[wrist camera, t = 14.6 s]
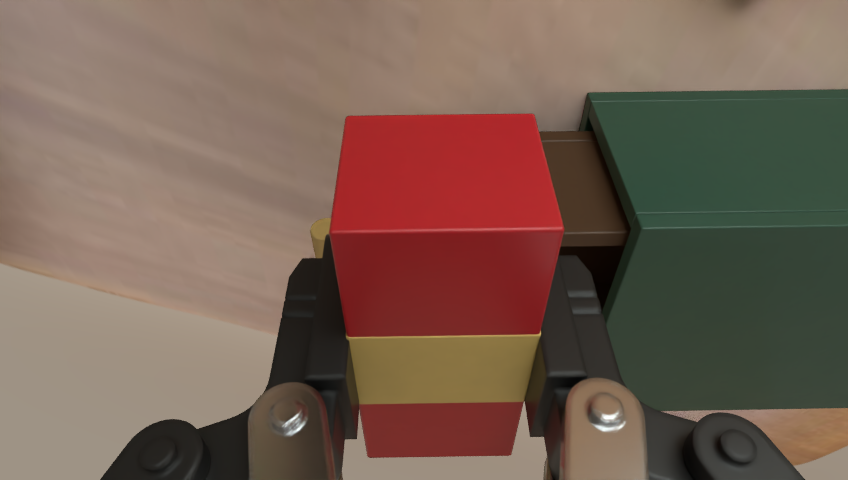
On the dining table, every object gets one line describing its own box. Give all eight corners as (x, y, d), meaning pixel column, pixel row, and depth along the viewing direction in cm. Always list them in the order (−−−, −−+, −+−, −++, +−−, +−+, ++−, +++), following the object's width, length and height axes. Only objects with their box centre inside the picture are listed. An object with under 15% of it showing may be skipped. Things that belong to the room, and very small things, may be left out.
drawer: (342, 288, 36) (330, 396, 30) (313, 117, 27) (290, 228, 22) (649, 284, 36) (689, 390, 31) (723, 112, 27) (796, 220, 22)
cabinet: (545, 280, 37) (573, 413, 30) (587, 92, 27) (641, 228, 21) (773, 277, 37) (849, 408, 30) (897, 88, 27) (1047, 222, 21)
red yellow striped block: (498, 348, 16) (512, 457, 14) (372, 349, 16) (366, 459, 14) (535, 111, 10) (567, 230, 8) (344, 113, 10) (326, 233, 8)
